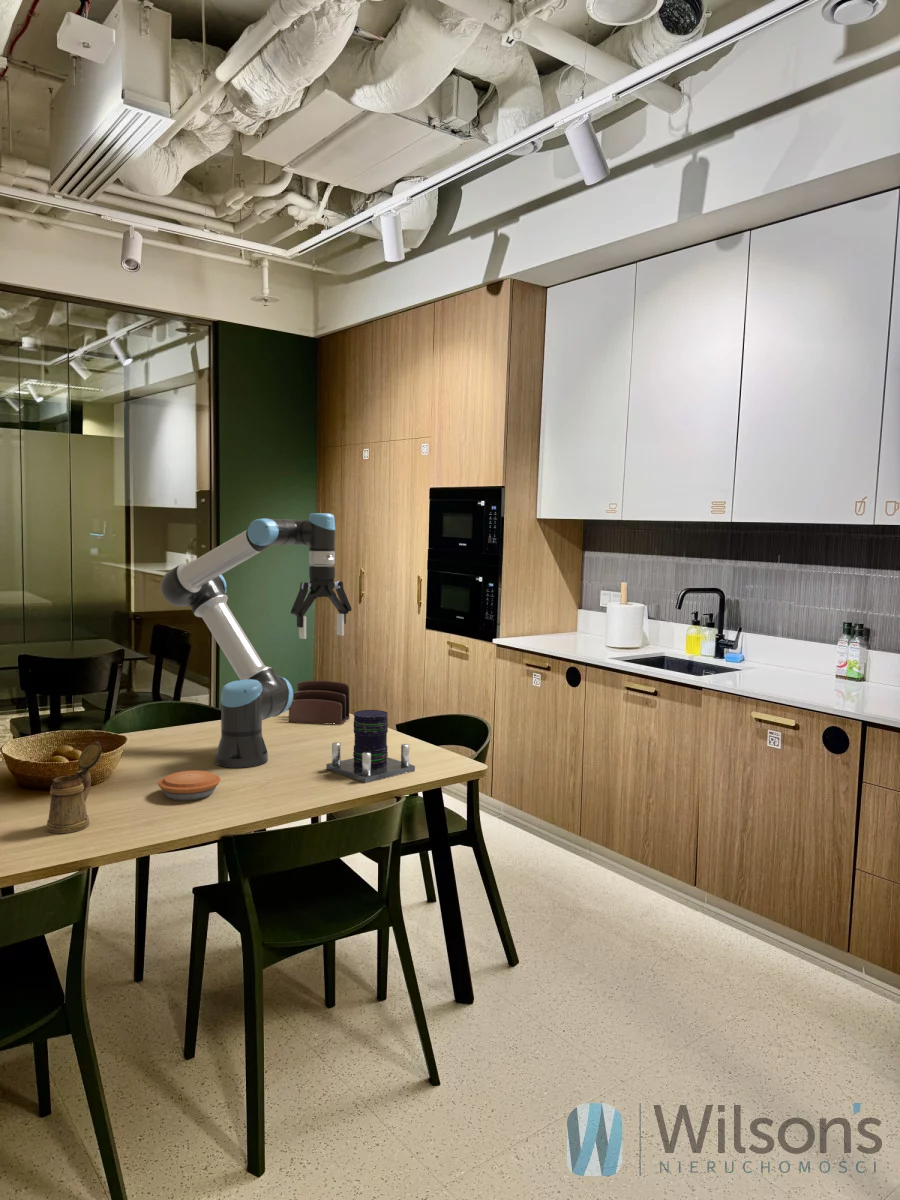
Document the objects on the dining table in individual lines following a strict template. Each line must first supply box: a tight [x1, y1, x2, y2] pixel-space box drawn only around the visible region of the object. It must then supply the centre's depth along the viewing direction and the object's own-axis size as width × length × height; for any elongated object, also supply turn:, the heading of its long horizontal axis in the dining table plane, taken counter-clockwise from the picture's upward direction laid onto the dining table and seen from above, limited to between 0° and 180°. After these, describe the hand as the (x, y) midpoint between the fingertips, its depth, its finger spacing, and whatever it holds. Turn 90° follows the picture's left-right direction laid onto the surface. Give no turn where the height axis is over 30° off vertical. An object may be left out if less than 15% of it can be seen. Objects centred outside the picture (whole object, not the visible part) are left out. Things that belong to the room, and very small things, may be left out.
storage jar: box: [352, 709, 389, 769], centre depth 243 cm, size 10×10×15 cm
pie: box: [157, 770, 222, 802], centre depth 219 cm, size 15×16×5 cm
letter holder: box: [288, 680, 351, 725], centre depth 306 cm, size 10×20×14 cm, turn 80°
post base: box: [325, 742, 416, 784], centre depth 243 cm, size 18×18×8 cm
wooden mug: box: [45, 740, 103, 834], centre depth 195 cm, size 9×14×18 cm, turn 153°
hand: (321, 636), depth 253 cm, fingers open, 13 cm apart
